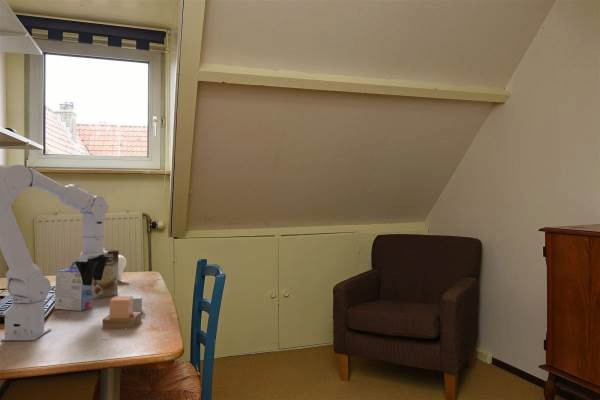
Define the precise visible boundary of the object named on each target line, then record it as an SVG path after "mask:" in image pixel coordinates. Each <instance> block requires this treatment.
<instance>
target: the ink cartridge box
mask: <svg viewBox="0 0 600 400" xmlns="http://www.w3.org/2000/svg"><path fill="white" fill-rule="evenodd" d="M54 292H55V293H54V309H55V310H65V311H78V312H80V311H84V310H88V309H91V308H93V298H92V285H90V286H87V285H83V282H82V278H81V274H80V272H79V269H78V268H77V266H76V264H75V261H72V263H71V265H70V267H69V268H65V269H64V268H63V269H59V270H56V271H55V291H54Z"/></svg>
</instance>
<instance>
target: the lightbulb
mask: <svg viewBox="0 0 600 400" xmlns="http://www.w3.org/2000/svg"><path fill="white" fill-rule="evenodd" d="M126 265H127V259H126V257H125V256H124V255H121V254H118V283H119V282H121V281H122V274H123V271H124V269H125V267H126Z"/></svg>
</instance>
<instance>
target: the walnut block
mask: <svg viewBox="0 0 600 400" xmlns="http://www.w3.org/2000/svg"><path fill="white" fill-rule="evenodd" d="M140 322H142V314H141V312H133V314H132V315H131V316H130V317H129V318H110V313H109V314H108V315H107V316H105V317H104V318H102V327H101V328H102V330H130V329H129V328H133V327H134V326H135V327H136V326H137V325H139V323H140ZM135 327H134V328H135ZM125 328H127V329H125ZM134 328H133V329H134Z"/></svg>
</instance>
